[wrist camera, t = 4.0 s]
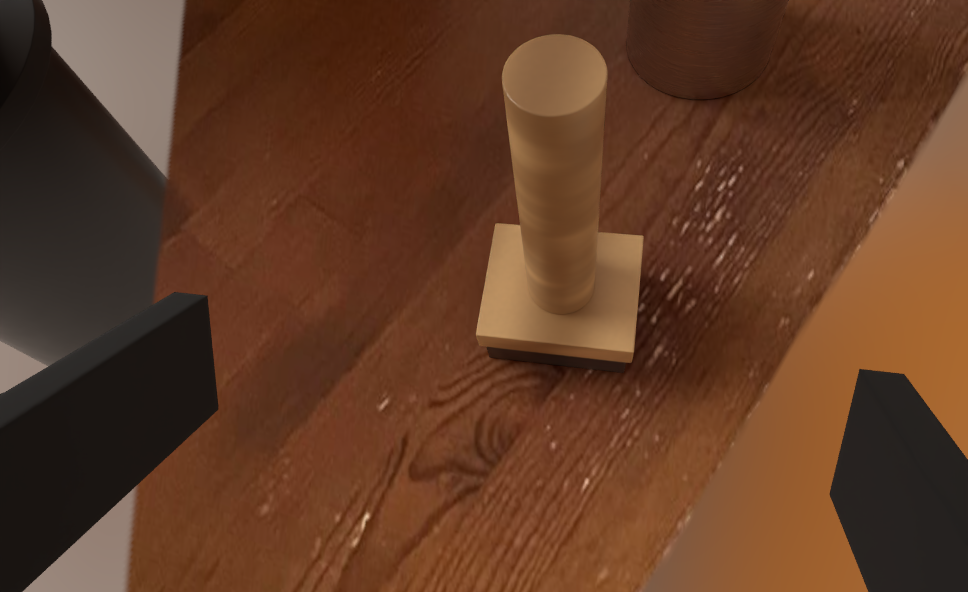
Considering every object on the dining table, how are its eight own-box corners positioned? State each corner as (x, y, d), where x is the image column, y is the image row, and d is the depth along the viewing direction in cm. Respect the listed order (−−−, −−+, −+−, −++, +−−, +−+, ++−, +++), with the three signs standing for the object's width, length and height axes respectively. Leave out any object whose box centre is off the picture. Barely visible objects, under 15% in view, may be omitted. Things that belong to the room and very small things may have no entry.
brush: (484, 361, 31) (416, 148, 18) (501, 256, 33) (453, -6, 20) (628, 378, 31) (672, 167, 17) (638, 269, 33) (684, 2, 19)
